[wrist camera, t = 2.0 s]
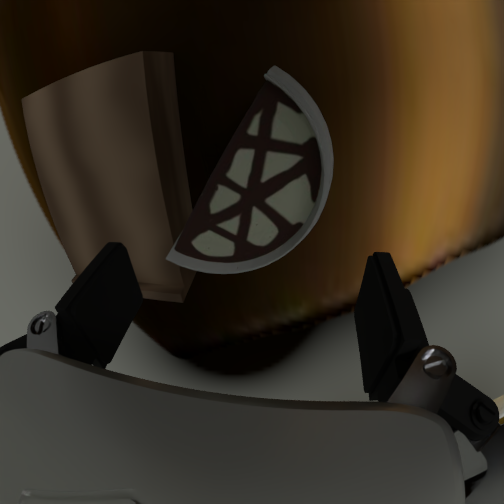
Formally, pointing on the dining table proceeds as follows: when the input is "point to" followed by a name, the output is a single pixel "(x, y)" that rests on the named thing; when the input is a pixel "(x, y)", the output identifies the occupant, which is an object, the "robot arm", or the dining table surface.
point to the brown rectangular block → (116, 165)
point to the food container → (261, 185)
